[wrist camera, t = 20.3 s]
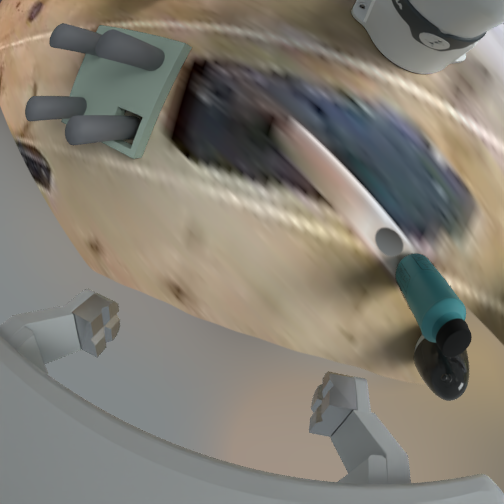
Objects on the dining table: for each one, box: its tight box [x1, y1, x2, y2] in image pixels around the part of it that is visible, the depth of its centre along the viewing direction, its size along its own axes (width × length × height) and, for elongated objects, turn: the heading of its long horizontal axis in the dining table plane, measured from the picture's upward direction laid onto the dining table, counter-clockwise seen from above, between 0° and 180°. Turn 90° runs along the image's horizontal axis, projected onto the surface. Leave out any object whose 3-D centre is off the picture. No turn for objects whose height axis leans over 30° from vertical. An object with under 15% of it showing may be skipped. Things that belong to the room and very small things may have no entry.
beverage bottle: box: [395, 254, 471, 357], centre depth 32 cm, size 6×7×20 cm
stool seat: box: [25, 23, 192, 159], centre depth 33 cm, size 20×20×14 cm
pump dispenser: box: [414, 335, 469, 401], centre depth 38 cm, size 10×10×15 cm
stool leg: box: [65, 115, 141, 145], centre depth 35 cm, size 4×4×14 cm
